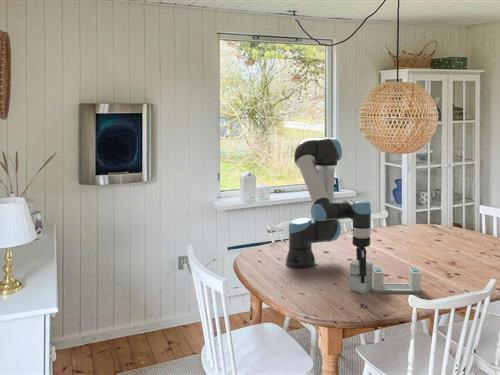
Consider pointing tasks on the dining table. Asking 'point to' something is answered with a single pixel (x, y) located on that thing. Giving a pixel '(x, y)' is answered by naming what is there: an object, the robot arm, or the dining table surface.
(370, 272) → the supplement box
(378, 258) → the dining table surface
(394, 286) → the grey holder stand
